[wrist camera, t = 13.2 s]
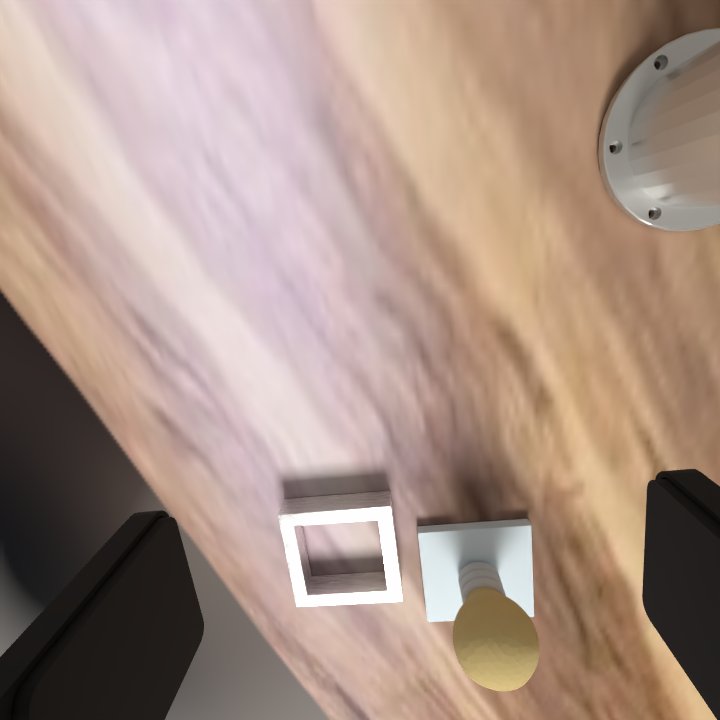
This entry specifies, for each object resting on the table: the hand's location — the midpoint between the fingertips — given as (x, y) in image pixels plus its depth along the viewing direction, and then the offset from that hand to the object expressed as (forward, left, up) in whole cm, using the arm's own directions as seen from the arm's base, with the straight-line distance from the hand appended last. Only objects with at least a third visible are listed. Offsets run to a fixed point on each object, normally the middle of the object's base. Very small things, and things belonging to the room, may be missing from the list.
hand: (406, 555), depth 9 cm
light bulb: (-5, +25, -28) cm, 37 cm away
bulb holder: (+7, +21, -28) cm, 36 cm away
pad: (-5, +25, -28) cm, 38 cm away
